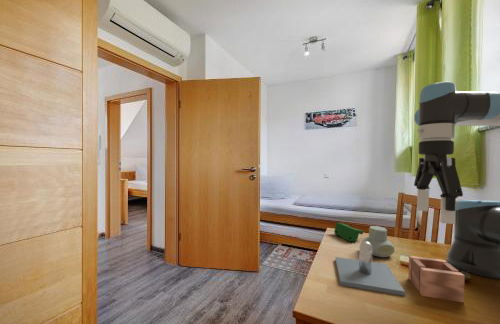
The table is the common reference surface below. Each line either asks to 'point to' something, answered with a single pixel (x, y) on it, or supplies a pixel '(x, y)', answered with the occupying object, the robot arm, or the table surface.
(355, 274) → the post board
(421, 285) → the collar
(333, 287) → the table surface
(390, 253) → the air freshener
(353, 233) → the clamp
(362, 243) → the steel post
